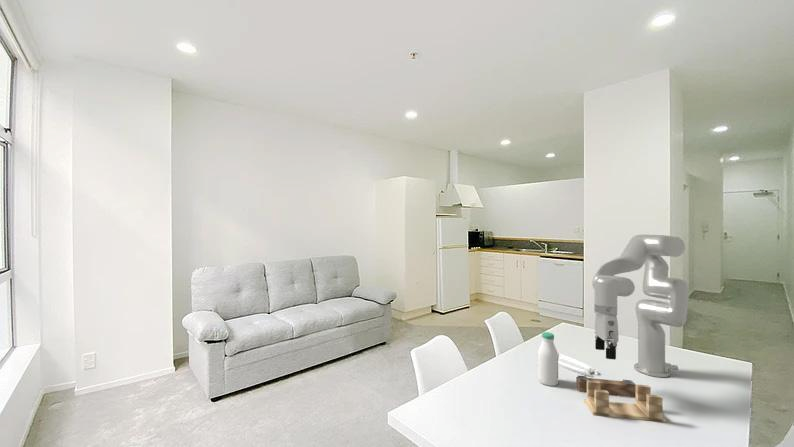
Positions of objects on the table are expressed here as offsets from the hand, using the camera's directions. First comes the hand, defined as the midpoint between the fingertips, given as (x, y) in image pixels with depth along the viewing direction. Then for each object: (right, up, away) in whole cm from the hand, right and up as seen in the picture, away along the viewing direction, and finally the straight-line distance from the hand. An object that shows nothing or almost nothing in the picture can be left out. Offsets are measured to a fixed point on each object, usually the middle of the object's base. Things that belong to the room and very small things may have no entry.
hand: (605, 354), depth 128 cm
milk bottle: (-18, -15, +8) cm, 25 cm away
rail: (0, -15, 0) cm, 15 cm away
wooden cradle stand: (-2, -15, -13) cm, 20 cm away
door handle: (-1, -16, +25) cm, 30 cm away
